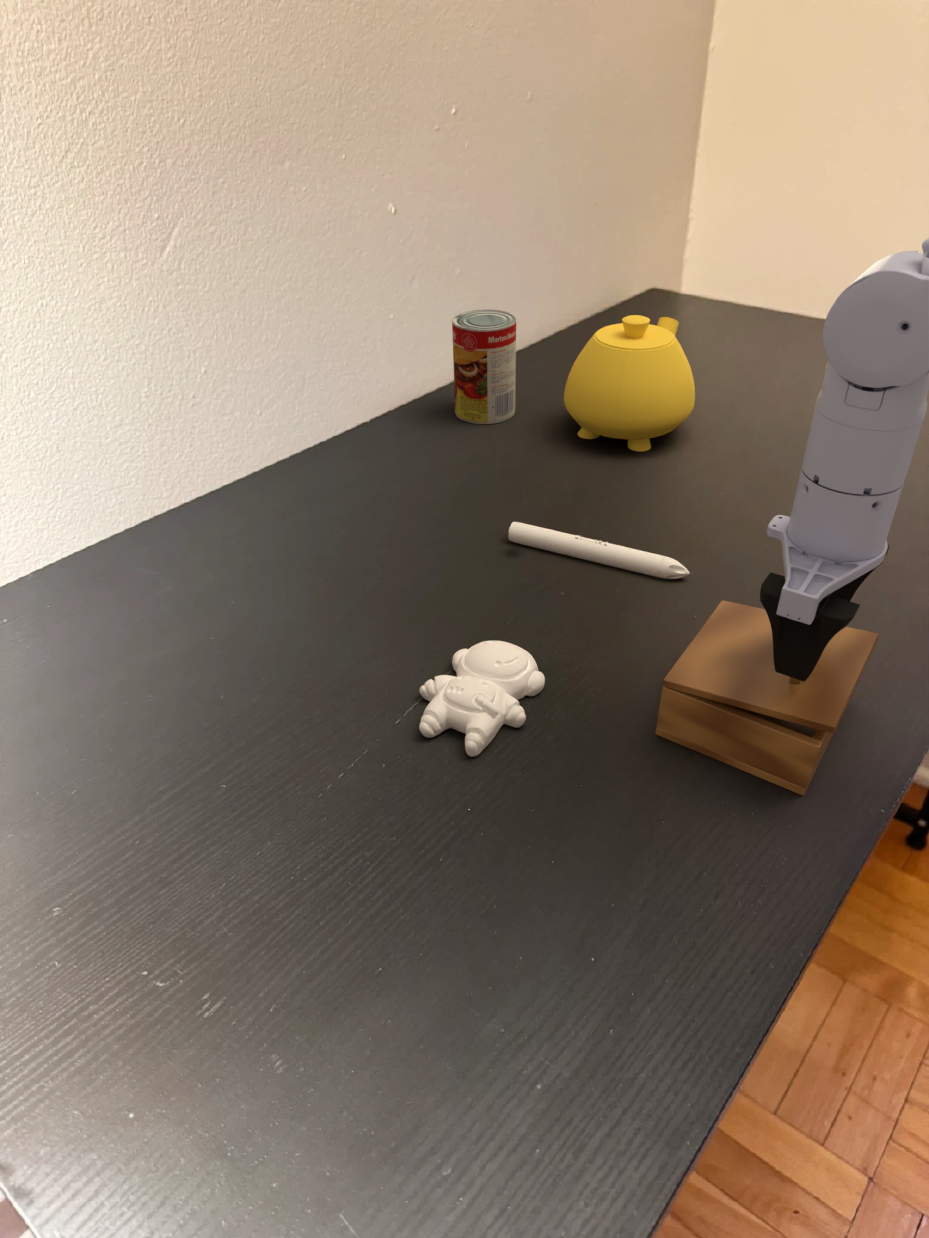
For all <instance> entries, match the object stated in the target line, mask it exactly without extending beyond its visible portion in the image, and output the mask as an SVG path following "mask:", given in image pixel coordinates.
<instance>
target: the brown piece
mask: <svg viewBox="0 0 929 1238" xmlns="http://www.w3.org/2000/svg"><path fill="white" fill-rule="evenodd" d="M879 636H880V635H879V633H877V632H873V631H869V630H865V629H864V630H863V629H859V628H855V627H849V626H846V627H845V628H843V629H842V630H840V631H839V632H838V633H837V634H836V635H835V636H834V637H833V638H832V639H831V640H830V641H829V643H828V644H827V645H826V647H825V649H824V651H823V653H822V655H821V657H820V659H819V660H818V662H817V664H816V666H815V668H814V670H813V671H812V673H811V674H810V676H809V677H808V679H807V680H806V681H800V680H797V679H795V678H792V677H789V676H786V675H783V674H780V673H777V672H776V671H775V667H774V658H773V639H772V630H771V625H770V621H769V618H768V615H767V613H766V610H765V608H761V607H756V606H752V605H746V604H742V603H737V602H732V601H728V600H724V599H722V600H721V601H720V603H719V604H718V605H717V606H716V608H715V609H714V611H713V612H712V613H711V615H710V616H709V617H708V619H707V620H706V621H705V623H704V624H703V626H702V627H701V628H700V630H699V631H698V632H697V633H696V635H695V636H694V637H693V639H692V641H690V643H689V645H687V647H686V649H685V650H684V651H683V653H682V654H681V655H680V656H679V658H678V659H677V661H676V662H675V663H674V665H673V666H672V668H671V669H670V670H669V671H668V673H667V675H666V676H665V677H664V678H663V680H662V682H663V683H662V687H663V686H664V687H667V688H671V689H674V690H678V691H682V692H685V693H689V694H692V695H696V696H700V697H703V698H707V699H710V700H714V701H717V702H721V703H725V704H728V705H732V706H735V707H739V708H742V709H746V710H750V711H753V712H757V713H760V714H764V715H767V716H771V717H775V718H778V719H782V720H785V721H789V722H792V723H796V724H800V725H803V726H807V727H810V728H814V729H818V730H821V731H825V732H828V733H832V734H833V735H834V734H835V732H836V730H837V728H838V726H839V724H840V722H841V720H842V718H843V715H844V713H845V711H846V709H847V707H848V704H849V702H850V700H851V698H852V696H853V694H854V692H855V690H856V688H857V686H858V683H859V681H860V679H861V677H862V675H863V672H864V671H865V668H866V666H867V664H868V662H869V660H870V657H871V655H872V654H873V651H874V649H875V647H876V645H877V643H878V640H879Z"/></svg>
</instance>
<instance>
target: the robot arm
mask: <svg viewBox="0 0 929 1238" xmlns="http://www.w3.org/2000/svg"><path fill="white" fill-rule="evenodd" d="M921 249H922V252H919V250H906V251H899V252H895V253H892V254H890V255H887V256H885V257H882V258H880V259H879V260H878V261H876V262H874V263H873V264H872V265H871V266H869V267H868V268H867V269H866V270H865V271H864V272H863V273H862V274H860V275H859V276H858V277H857V278H856V279H855V280H854V281H853V282H852V283H851V284H850V285H848V286H847V287H846V288H845V289H844V290H843V291H842V292H841V293H840V294H839V295H838V297H837V298H836V300H835V301H834V302H833V304H832V306H831V307H830V309H829V311H828V312H827V314H826V317H825V320H824V322H823V323H824V324H823V328H822V346H823V351H824V354H825V357H826V359H827V363H826V366H825V370H824V378H823V382H822V386H821V390H820V391H819V392H818V394H817V397H816V400H815V406H814V411H813V415H812V420H811V423H810V428H809V431H808V432H809V433H808V436H807V441H806V446H805V450H804V455H803V459H802V463H801V467H800V472H799V475H798V481H797V486H796V489H795V493H794V497H793V498H794V499H793V502H792V508H791V511H790V516H788V515H783V514H777V515H775V516H773V518H772V519H771V521H769V523H768V525H767V529H766V535H767V536H768V537H769V538H772V539H776V540H778V541H780V542H781V548H782V550H781V551H782V559H783V560H782V561H783V573H784V575H782V574H778V573H775V572H769V573H768V574H767V576H766V578H764V580H763V582H762V583H761V586H760V590H759V602H760V603H761V605H762V606H763V609H765V610H766V613H767V615H768V618H769V621H770V625H771V630H772V639H773V658H774V667H775V671H776V672H777V673H780V674H783V675H786V676H789V677H792V678H795V679H797V680H800V681H806V680H807V679H808V677H809V676H810V674H811V673H812V671H813V670H814V668H815V666H816V664H817V662H818V660H819V659H820V657H821V655H822V653H823V651H824V649H825V647H826V645H827V644H828V643H829V641H830V640H831V639H832V638H833V637H834V636H835V635H836V634H837V633H838V632H839V631H840V630H842V629H843V628H845V627H848V625H849V624H850V623H851V621H852V620H854V618H855V616H856V614H857V612H858V611H859V609H860V607H861V604H860V603H857V602H853V601H851V600H852V599H853V597H854V595H855V594H856V593H857V590H858V589H859V588H860V586H861V585H862V584H863V583H864V581H865V580H866V579H867V578H868V577H869V576H870V575H871V574H872V573H873V572H874V571H875V570H876V569H877V568H878V567H879V566H881V565H882V564H883V562H884V561H885V558H886V557H887V555H888V552H889V550H890V549H889V548H890V545H889V544H888V541H887V539H888V536H889V533H890V530H891V526H892V524H893V521H894V517H895V513H896V510H897V507H898V504H899V501H900V498H901V495H902V491H903V489H904V485H905V482H906V478H907V475H908V473H909V472H908V471H909V468H910V465H911V463H912V458H913V455H914V452H915V449H916V446H917V443H918V439H919V437H920V433H921V430H922V427H923V424H924V421H925V417H926V415H927V409H928V403H927V401H928V400H927V397H928V394H929V236H928V237H926V238H925V239H924V240H923V242H922V243H921Z"/></svg>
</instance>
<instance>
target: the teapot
mask: <svg viewBox="0 0 929 1238" xmlns="http://www.w3.org/2000/svg"><path fill="white" fill-rule="evenodd" d="M621 321H622V322H621V323H615V324H609V325H605V326H603V327H602V328H599V329H598V330H596V332H595V333H594V334H593V335H592V336H591V337H590V339H589V340H588V341H587V343H585V345H584V346H583V348H582V349H581V351H580V352H579V354H578V355H577V357H576V359H575V361H574V362H573V364H572V366H571V368H570V370H569V373H568V376H567V379H566V382H565V386H564V392H563V394H564V395H563V403H564V407H565V409H566V411H567V412H568V414H569V415H570V416H571V417H572V419H573V420H574V421H575V422H576V423H577V424H578V425H579V426H580V429H579V431H577V436H578V437H579V438H581V439H584V440H585V439H586V440H593V439H594V440H595V439H597V438H599V437H600V436H602V437H605V438H610V439H611V438H612V439H619V440H627V448H628V449H629V450H631V451H634V452H647V451H649V450H651V449H652V444H651V439H653V438H657V437H661V436H664V435H666V434H669V433H670V432H672V431H674V430H675V429H676V428H677V427H678V426H680V425H681V424H682V423H684V422H685V421H686V420H687V418H689V417H690V416H691V414H692V412H693V410H694V407H695V402H696V401H695V400H696V388H695V379H694V374H693V371H692V368H691V365H690V363H689V359H688V357H687V356H686V353H685V352H684V349H683V347H682V345H681V343H680V342H679V340H678V339H677V336H676V334H677V331H678V327H679V324H680V322H679V321H678V320H677V319H675V318H673V317H669V316H661V317H659V318H658V321H657V324H656V325H655V324H651V323H650V322H651V319H650V318H649V317H647V316H644V315H639V314H632V315H626V316H624V317H623V318H622V319H621Z"/></svg>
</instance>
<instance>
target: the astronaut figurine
mask: <svg viewBox="0 0 929 1238" xmlns="http://www.w3.org/2000/svg"><path fill="white" fill-rule="evenodd" d="M451 664H452V669H453V671H454V672H455V673H456V675H455V676H454V675H450V674H449V675H448V674H440V675H435V676H434V680H433V679H432V678H430V679H427V680H426V681H425V682H424V684H423V685H421V686H420V687H419V689H418V690H419V694H420V696H421V697H422V699H424V700H426V701H428V702H429V703H428V704H427V705H426V707H425V709H424V711H423V713H422V715H421V718H420V722H419V725H418V727H419V731H420V733H421V735H422V736H424V737H425V738H434V737H436V736H438V735H440V734H442V733H443V732H444V731H446V730H448V729H452V730H455V731H457V732H460V733H463V734H465V736H464V750H465V753H466V754H467V756H469V757H471V758H472V757H477V756H479V755H480V754H481V753H482V752H483V750H485V749H486V748H487V747H488V746H489V745H490V744H491V742H492V741H493V740H494V738H495V737H496V736H497V734H498V733H499V731H500V730H501V728H502V726H503V725H506V726H509V727H513V728H517V729H518V728H521V727H522V726H523V725H525V723H526V721H527V715H526V712H525V709H524V708H523V706H521V705H520V701H519V700H521V699H523V698H524V697H525V696H528V697H534V696H536V695H538V694H539V693H541V692H542V691H543V689H544V687H545V684H546V677H545V675H544V673H543V672H542V671H539V668H538V667H539V666H538V665H537V662H536V660H535V658H534V657H533V655H532V654H531V653H530V652H529V651H527V650H525V649H524V648H523V647H520V646H518V645H516V644H513V643H511V642H509V641H508V642H507V641H503V640H484V641H480V642H478V643H476V644H474V645H472V646H470V648H461V649H459V650H457V651H456V652H455V653H454V654H453V655H452V659H451Z"/></svg>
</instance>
